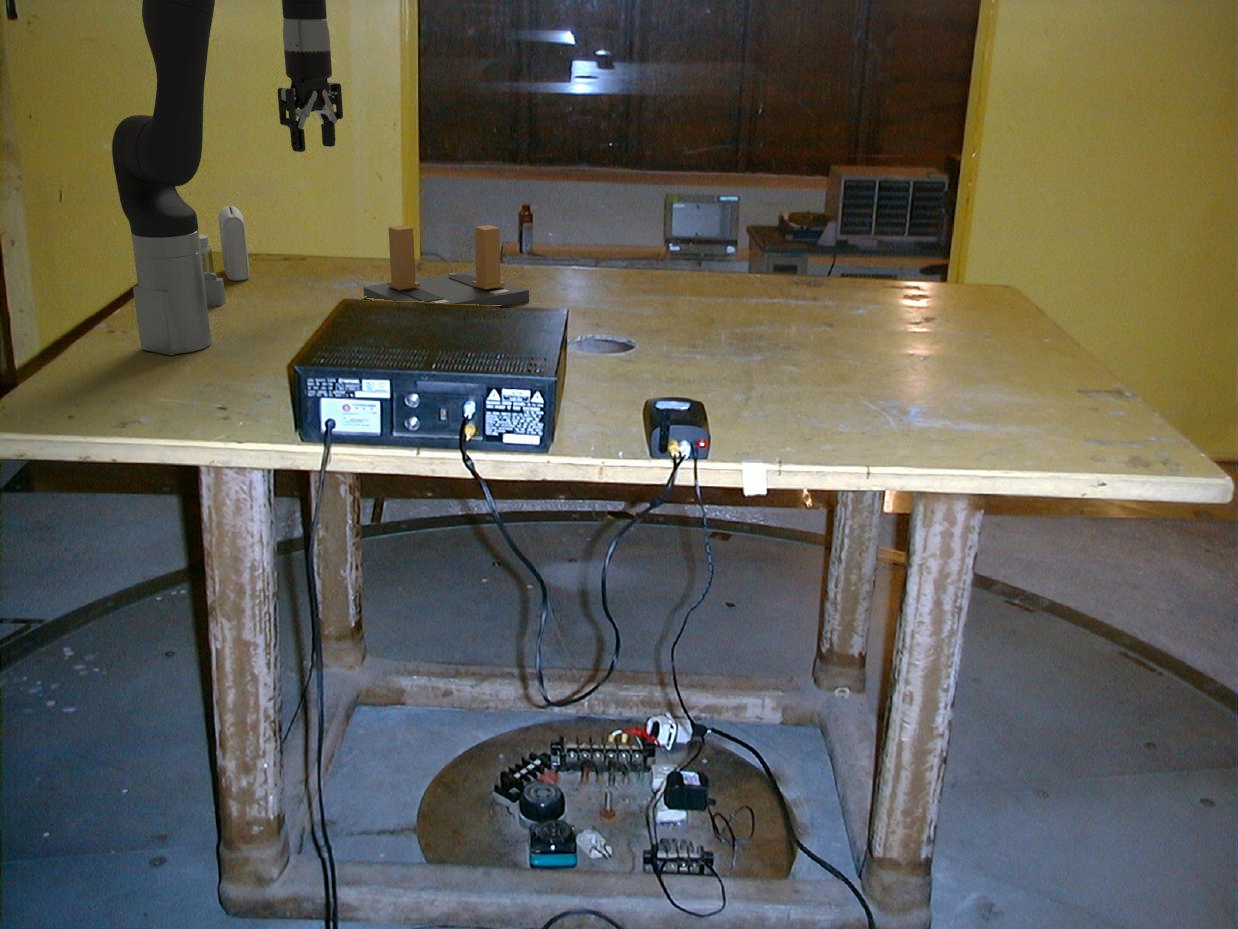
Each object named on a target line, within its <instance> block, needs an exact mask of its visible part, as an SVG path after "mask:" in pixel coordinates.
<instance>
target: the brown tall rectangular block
mask: <svg viewBox="0 0 1238 929" xmlns="http://www.w3.org/2000/svg"><path fill="white" fill-rule="evenodd" d="M500 233H501V232H500V227H498V226H495V225H491V224H487V225H481V226H474V249H475V250H474V251H475V252H474V254H475V271H476V281H472V285H474V286H477V287H480V288H482V289H491V288H497V287H503V286H505V283H504V282H501V281H500V280H501V241H500V240H501V238H500V237H501V235H500Z"/></svg>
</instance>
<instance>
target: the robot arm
mask: <svg viewBox="0 0 1238 929" xmlns="http://www.w3.org/2000/svg"><path fill="white" fill-rule="evenodd" d="M326 1H327V0H281V7H282V20H283V21H282V23H283V26H282V39H283V54H284V66H285V75H286V77H287V78H289V79H290V81H291V82H290V87H288V88H287V87H279V88H277V101H278V102H277V103H278V113H279V115H278V117H279V124H280V125H281V126H284V127H287V128H289V131H290V132H289V133H290V144H291V149H292V151H293V152H297V153H302V152H305V151H306V140H305V139H306V138H305V129H304V127H305V123H306V120H307V119H308V118H309V117H310V115H311V113H313V112H314V113H315V114H317V115H318V117H319V119H320V121H321V122H322V123H321V124H320V125H321V126H320V128H321V141H322V145H323V147H329V148H331V147H335V145H336V128H335V126H336V125H335V124H336V123H337V121H338V120H343V117H344V110H343V94H342V85H341V83H338V82H329V80H328V79H329V78H331V77H332V75H333V69H332V68H333V67H332V55H331V54H332V53H331V39H330V38H331V37H330V30H329V29H330V28H329V25H328V24H329V23H328V17H327V14H328V13H327V2H326ZM215 3H216V0H142V3H141V18H142V24H143V28H144V32H145V36H146V39H147V40H146V41H147V43H148V46H149V49H150V51H151V52H150V53H151V55H152V58H153V62H154V68H155V73H156V91H155V92H156V93H155V100H154V109H153V114H152V115H145V114H133V115H130V116H128V117H126V118H124V119H123V120H122V121H120V123H118V125H117V127H116V128H115V130H114V133H113V136H112V142H111V156H112V163H113V164H112V165H113V169H114V175H115V176H114V177H115V179H116V180H115V181H116V186H117V192H118V195H119V196H118V197H119V200H120V206H121V208H122V211H123V214H124V216H125V217H126V219H127V220H128V222H129V228H130V235H131V241H132V242H131V244H132V249H133V257H134V263H135V265H134V266H135V273H136V280H137V285H135V286H134V287H132V288H133V289H132V291H133V298H134V305H135V313H136V320H137V328H138V333H139V334H138V335H139V342H140V349H141V350H142V351H148V352H152V353H157V354H164V355H169V356H176V355H177V354H183V353H191V352H197V351H200V350H203V349H206V348H207V347H209V346H210V345H211V344H212V338H211V329H210V320H209V318H210V317H209V311H208V305H207V301H206V292H205V283H204V274H203V266H202V257H201V247H200V239H199V234H200V231H199V230H200V229H199V222H198V216H197V213H196V210H194V208H192V206H191V205H189V204H188V203H187V202H186V201H185V200H184V199H183V198H182V197H181V195H180V194H179V192H178V190H177V187H180V186H184V185H186V184H188V183H189V182H190V181H191V180H192V179H193V178H194V177H195V175H196V173H197V172H198V170H199V166H200V165H201V159H202V154H203V152H202V151H203V139H204V138H203V137H204V135H203V132H204V97H205V85H206V84H205V82H206V72H207V66H208V56H209V55H208V54H209V53H208V52H209V47H210V46H209V45H210V35H211V30H212V24H213V18H214V12H215ZM334 105H335V108H334ZM334 109H335V110H336V111H335V110H334ZM287 112H288V117H287Z"/></svg>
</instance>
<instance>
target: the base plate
mask: <svg viewBox="0 0 1238 929" xmlns="http://www.w3.org/2000/svg"><path fill="white" fill-rule="evenodd" d="M415 280H416V282H418V283H420V287H415V288H409V289H402V290H398V289H396V288H393V287H391V286H388V285H387V283H380V284H374V285H368V286H367V285H366V286H363V288H362V289H363V297H364V296H367V297H366V298H374V299H384V300H393V301H424V302H435V303H449V304H476V305H477V304H479V305H507V306H512V305H517V304H523V303H528V302H530V289H527V288H524V287H521V286H519V285H516V284H513V283H510V282H508V281H506V280H502V279H500V281H501V282H504V283H505V286H503V287H497V288H491V289H482V288H480V287H477V286H474V285H472V281H476V270H474V269H469V270H463V271H455V272H449V273H443V274H436V275H431V276H424V277H418V278H415Z"/></svg>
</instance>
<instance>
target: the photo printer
mask: <svg viewBox="0 0 1238 929" xmlns="http://www.w3.org/2000/svg"><path fill="white" fill-rule="evenodd" d="M217 220H218V227H219V228H218V229H219V236H220V238H219V239H220V246H221V247H220V249H221V255H222V256H221V257H222V263H223V264H222V265H223V270H224V273H225V276H226V277H227V279H228V280H231V281H245V280H247V279H249V278H250V272H251V271H250V263H249V257H248V255H249V254H248V245H247V234H246V233H247V232H246V223H245V222H246V221H245V218H244V216H243V213H242V212H241V211H240V210H239V208H237V207H235V206H233V205H231V206H228V205H226V206H224V207H223V208H222V209H221V210H220V211H219V213H218V219H217Z"/></svg>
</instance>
